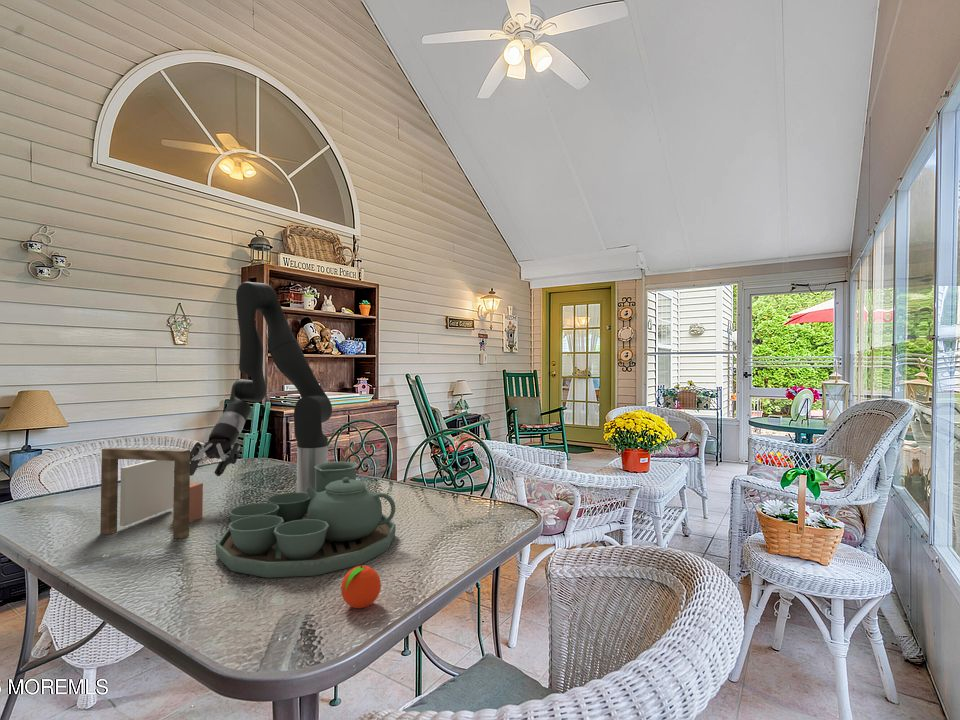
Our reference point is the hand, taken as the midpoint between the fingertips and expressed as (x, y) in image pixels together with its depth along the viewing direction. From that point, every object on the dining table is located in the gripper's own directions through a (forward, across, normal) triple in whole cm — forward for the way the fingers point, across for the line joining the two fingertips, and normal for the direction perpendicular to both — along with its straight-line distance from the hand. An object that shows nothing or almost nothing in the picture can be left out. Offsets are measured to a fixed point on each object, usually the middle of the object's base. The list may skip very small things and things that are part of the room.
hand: (203, 474), depth 143 cm
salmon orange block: (+12, -1, +4) cm, 13 cm away
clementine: (+43, +64, -25) cm, 81 cm away
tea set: (+22, +42, -5) cm, 48 cm away
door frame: (+21, -3, -5) cm, 22 cm away
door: (+12, -12, +2) cm, 17 cm away
